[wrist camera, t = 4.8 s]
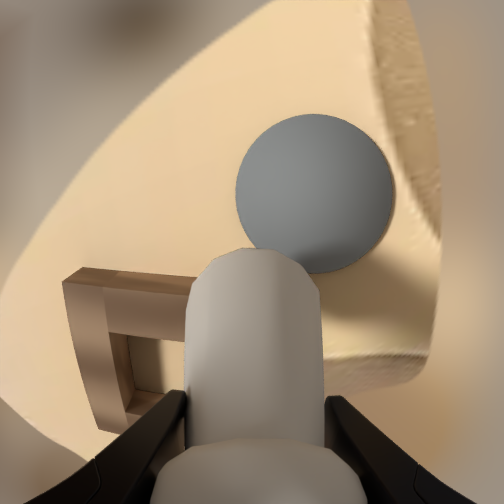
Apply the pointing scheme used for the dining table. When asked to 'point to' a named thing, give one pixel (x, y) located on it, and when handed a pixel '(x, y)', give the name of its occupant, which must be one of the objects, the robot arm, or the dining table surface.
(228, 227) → the dining table surface
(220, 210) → the dining table surface
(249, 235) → the slate coaster
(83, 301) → the walnut frame
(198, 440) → the salt shaker
